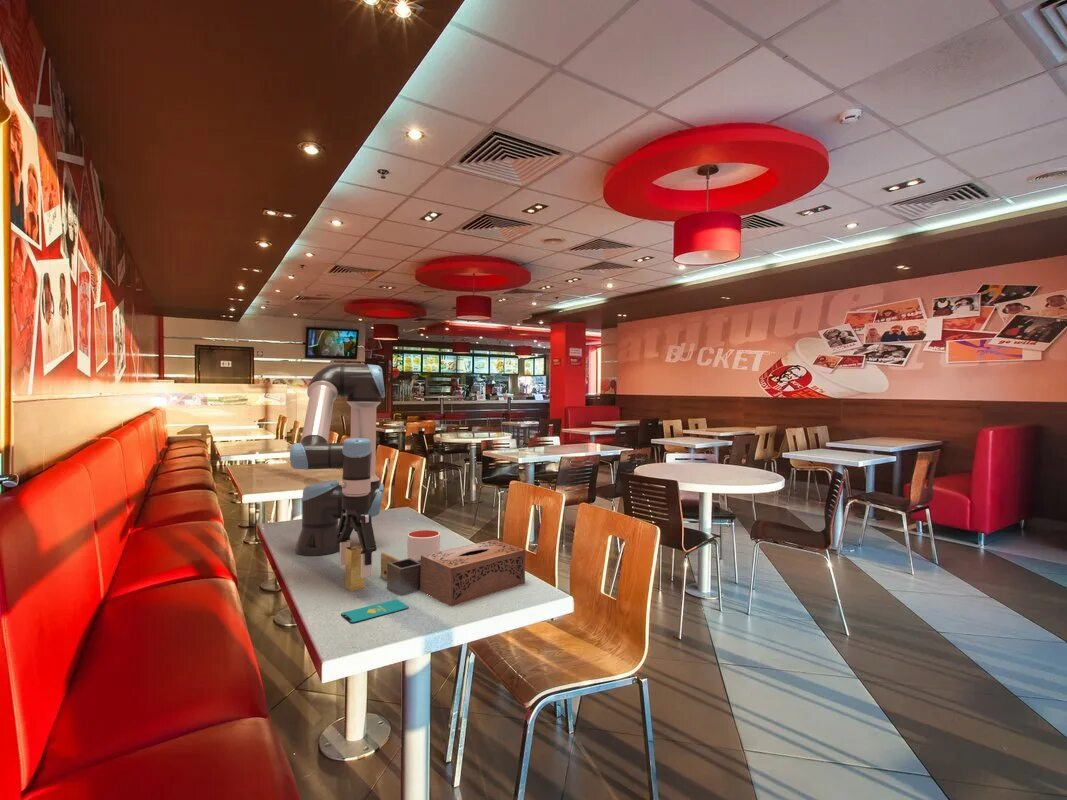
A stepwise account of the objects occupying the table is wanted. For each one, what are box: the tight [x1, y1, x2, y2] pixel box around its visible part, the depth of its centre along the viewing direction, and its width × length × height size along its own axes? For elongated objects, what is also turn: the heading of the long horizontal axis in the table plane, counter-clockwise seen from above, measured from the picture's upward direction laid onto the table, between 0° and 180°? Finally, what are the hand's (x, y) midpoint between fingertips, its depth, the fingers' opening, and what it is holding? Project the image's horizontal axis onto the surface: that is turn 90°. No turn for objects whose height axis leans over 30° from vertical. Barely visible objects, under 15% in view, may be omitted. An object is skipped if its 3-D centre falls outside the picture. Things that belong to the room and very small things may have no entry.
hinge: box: [380, 552, 421, 596], centre depth 153 cm, size 17×17×7 cm
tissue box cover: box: [419, 539, 526, 607], centre depth 149 cm, size 26×14×10 cm, turn 134°
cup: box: [406, 529, 441, 561], centre depth 168 cm, size 10×10×10 cm
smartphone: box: [340, 599, 410, 625], centre depth 130 cm, size 7×1×15 cm
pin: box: [344, 544, 366, 592], centre depth 147 cm, size 4×4×11 cm
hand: (355, 570), depth 147 cm, fingers open, 13 cm apart
